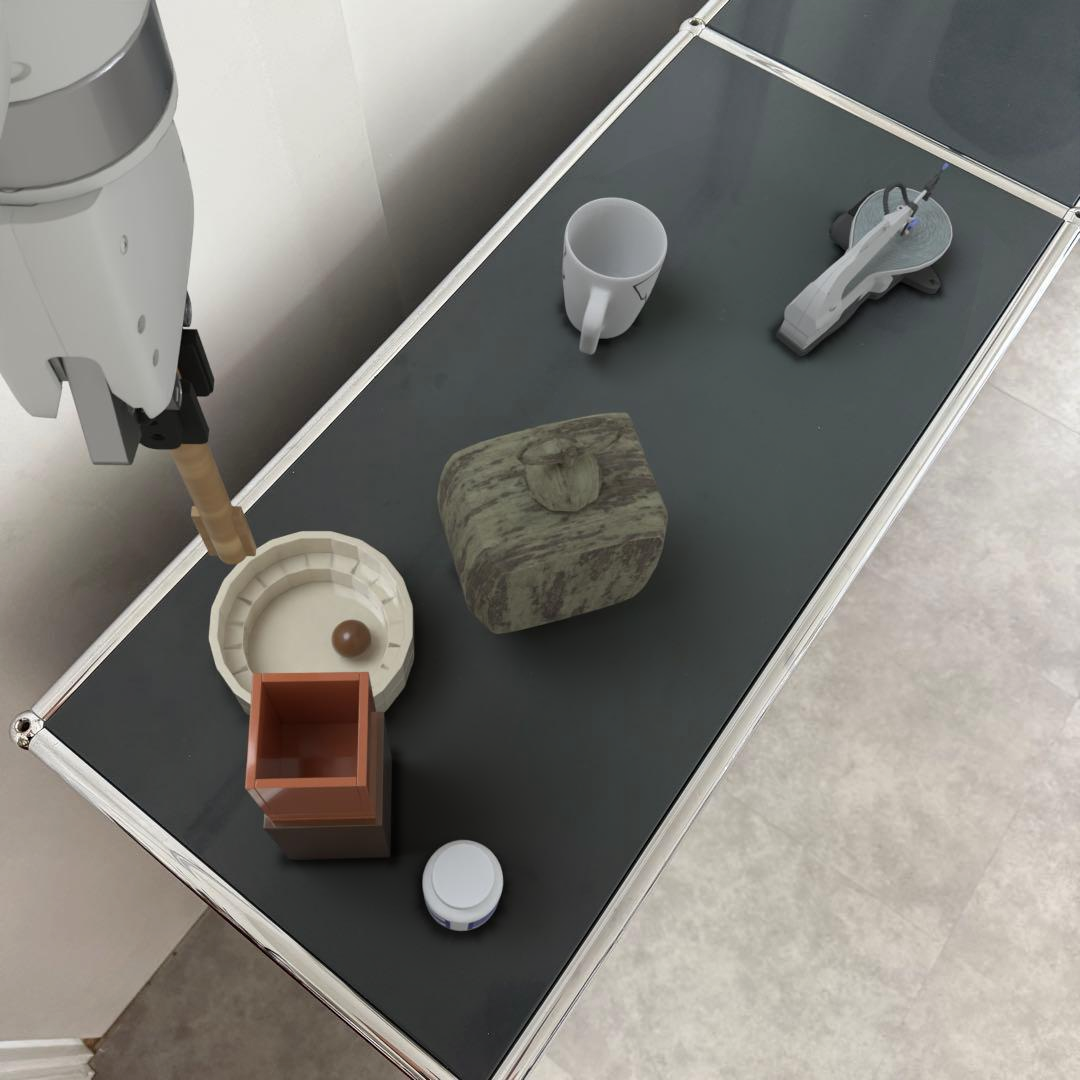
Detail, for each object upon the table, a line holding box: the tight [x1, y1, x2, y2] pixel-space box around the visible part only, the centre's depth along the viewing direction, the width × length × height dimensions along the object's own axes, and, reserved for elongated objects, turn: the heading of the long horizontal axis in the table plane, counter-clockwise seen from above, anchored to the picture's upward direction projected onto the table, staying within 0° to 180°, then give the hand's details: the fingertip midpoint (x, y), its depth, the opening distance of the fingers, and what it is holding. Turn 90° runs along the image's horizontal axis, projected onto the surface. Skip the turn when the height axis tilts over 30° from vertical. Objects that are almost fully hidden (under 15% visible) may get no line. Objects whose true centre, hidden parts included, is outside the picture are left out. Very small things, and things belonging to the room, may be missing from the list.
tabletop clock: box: [436, 412, 669, 635], centre depth 76 cm, size 14×9×25 cm, turn 107°
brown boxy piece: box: [244, 672, 393, 861], centre depth 69 cm, size 7×7×23 cm
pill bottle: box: [421, 839, 504, 932], centre depth 73 cm, size 5×5×9 cm
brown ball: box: [331, 619, 372, 660], centre depth 82 cm, size 3×3×3 cm
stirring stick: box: [168, 367, 257, 565], centre depth 50 cm, size 2×2×20 cm
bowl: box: [208, 530, 415, 717], centre depth 81 cm, size 14×14×6 cm
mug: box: [561, 197, 668, 355], centre depth 93 cm, size 11×8×10 cm
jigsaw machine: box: [775, 162, 953, 357], centre depth 97 cm, size 20×11×12 cm
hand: (172, 411), depth 45 cm, fingers closed on stirring stick, 1 cm apart
